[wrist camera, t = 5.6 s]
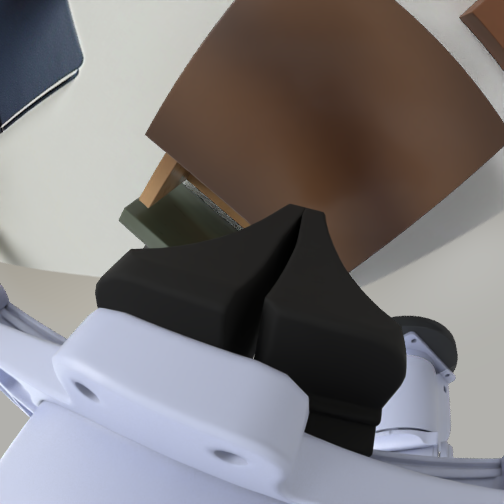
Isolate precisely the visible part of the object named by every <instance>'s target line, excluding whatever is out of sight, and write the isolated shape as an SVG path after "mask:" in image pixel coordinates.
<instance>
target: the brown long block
mask: <svg viewBox="0 0 504 504" xmlns="http://www.w3.org/2000/svg"><path fill="white" fill-rule="evenodd" d="M459 18H460V19H461V20H462V21H463V22H464V23H465V24H466V26H467V27H468V28H469V29H470V30H471V31H472V32H473V33H474V34H475V36H476V37H477V38H478V39H479V40H480V41H481V43H482V44H483V45H484V46H485V47H486V49H487V50H488V51H489V52H490V54H491V55H492V56H493V57H494V59H495V60H496V61H497V63H498V64H499V65H500V67H501V68H502V69H503V71H504V0H477V1H476V2H475V3H474V4H473V5H472V6H471V7H470V8H469V9H468V10H466V11H465V12H464V13H463V14H462V15H461V16H460V17H459Z"/></svg>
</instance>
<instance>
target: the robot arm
mask: <svg viewBox="0 0 504 504" xmlns="http://www.w3.org/2000/svg"><path fill="white" fill-rule="evenodd" d="M95 295H96V301H97V306H98V309H97V310H95V311H94V312H92V313H91V314H90V315H88V316H87V317H86V319H85V320H84V321H83V322H82V323H81V324H80V325H79V327H77V329H76V330H75V331H74V332H73V333H72V334H71V335H70V337H69V338H68V339H66V338H65V337H63V336H61V335H60V334H58V333H56V332H55V331H52V330H51V329H50V328H48V327H46V326H45V325H43V324H42V323H40V322H38V321H37V320H35V319H34V318H32V317H31V316H29V315H28V314H26V313H25V312H23V311H22V310H20V309H19V308H17V307H16V306H14V305H13V304H11V303H10V302H9V299H8V296H7V294H6V291H5V290H4V288H3V287H2V285H1V284H0V390H1V391H2V392H3V393H4V394H5V395H6V396H7V397H8V398H9V399H10V400H11V401H12V402H13V403H14V404H16V405H17V406H18V407H19V408H20V409H21V410H22V411H23V412H25V413H26V414H27V415H28V416H29V417H30V419H29V420H28V421H27V423H26V424H25V426H24V427H23V428H22V430H21V431H20V433H19V434H18V435H17V437H16V438H15V439H14V441H13V442H12V444H11V445H10V447H9V448H8V449H7V451H6V452H5V454H4V455H3V457H2V458H1V460H0V504H504V456H503V457H502V458H494V459H475V458H453V447H452V446H451V445H450V444H448V442H447V440H448V438H449V435H450V431H451V418H450V399H449V386H448V384H449V383H451V382H453V381H454V380H455V378H456V377H455V375H454V373H453V372H452V371H451V370H450V369H449V368H448V367H447V366H446V365H445V364H444V363H443V361H442V360H441V359H440V358H439V357H438V356H437V355H436V354H435V353H434V352H433V351H432V350H431V349H430V347H429V346H428V345H427V344H426V343H425V342H424V341H423V340H422V339H421V338H420V337H419V336H418V335H417V334H416V333H415V332H408V333H406V334H405V335H403V332H402V327H401V325H399V324H398V323H397V322H396V321H395V320H393V319H392V318H391V317H390V316H388V315H387V314H386V313H385V312H384V311H382V310H381V309H380V308H379V307H378V306H377V305H376V304H375V303H374V302H373V301H371V299H370V298H369V297H368V296H367V295H366V294H365V293H364V292H363V291H362V290H361V288H360V287H359V286H358V285H357V283H356V282H355V281H354V280H353V279H352V277H351V276H350V274H349V273H348V272H347V270H346V268H345V267H344V265H343V263H342V262H341V260H340V258H339V256H338V253H337V251H336V249H335V247H334V245H333V242H332V239H331V236H330V234H329V231H328V227H327V223H326V215H325V214H324V212H321V211H318V210H314V209H310V208H306V207H302V206H298V205H294V204H288V205H286V206H284V207H283V208H281V209H279V210H278V211H276V212H274V213H273V214H271V215H269V216H268V217H266V218H264V219H262V220H260V221H258V222H256V223H254V224H252V225H250V226H248V227H246V228H244V229H241V230H239V231H236V232H234V233H231V234H228V235H225V236H222V237H218V238H214V239H210V240H206V241H202V242H198V243H193V244H187V245H181V246H173V247H164V248H147V249H131V250H129V251H128V252H127V253H126V254H125V255H124V256H123V257H122V258H121V259H120V260H119V261H118V262H117V263H115V264H114V265H113V266H112V267H111V268H110V269H109V270H108V271H107V272H106V273H105V274H104V275H103V276H102V277H101V278H100V280H99V281H98V283H97V284H96V291H95ZM413 339H415V340H413ZM254 354H255V355H254ZM253 357H254V359H253ZM439 452H440V454H439V457H438V453H439Z"/></svg>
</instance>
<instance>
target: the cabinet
mask: <svg viewBox="0 0 504 504" xmlns="http://www.w3.org/2000/svg"><path fill="white" fill-rule="evenodd" d="M145 135H146V136H147V137H148V138H149V139H151V140H152V141H153V142H154V143H155V144H157V145H158V146H159V147H160V148H161V149H163V150H164V151H165V152H166V153H167V154H169V155H170V156H171V157H172V158H173V159H174V160H176V161H177V162H178V163H179V164H180V165H182V166H183V167H184V168H185V169H186V170H187V171H189V172H190V173H191V174H192V175H193V176H195V177H196V178H197V179H198V180H199V181H200V182H202V183H203V184H204V185H205V186H206V187H207V188H209V189H210V190H211V191H212V192H213V193H214V194H216V195H217V196H218V197H219V198H220V199H221V200H223V201H224V202H225V203H226V204H227V205H228V206H230V207H231V208H232V209H233V210H234V211H235V212H237V213H238V214H239V215H240V216H241V217H242V218H244V219H245V220H246V221H247V222H248V223H249V224H250V225H252V224H254V223H256V222H258V221H260V220H262V219H264V218H266V217H268V216H269V215H271V214H273V213H274V212H276V211H278V210H279V209H281V208H283V207H284V206H286V205H288V204H294V205H298V206H302V207H306V208H310V209H314V210H318V211H321V212H324V214H325V215H326V223H327V227H328V231H329V234H330V236H331V239H332V242H333V245H334V247H335V249H336V251H337V253H338V256H339V258H340V260H341V262H342V263H343V265H344V267H345V268H346V270H347V272H348V273H349V272H350V271H352V270H353V269H354V268H356V267H357V266H358V265H360V264H361V263H362V262H364V261H365V260H367V259H368V258H369V257H371V256H372V255H373V254H375V253H376V252H377V251H379V250H380V249H381V248H383V247H384V246H385V245H386V244H388V243H389V242H390V241H392V240H393V239H394V238H396V237H397V236H398V235H399V234H401V233H402V232H403V231H405V230H406V229H407V228H408V227H410V226H411V225H412V224H413V223H415V222H416V221H417V220H418V219H420V218H421V217H422V216H423V215H425V214H426V213H427V212H428V211H430V210H431V209H432V208H433V207H435V206H436V205H437V204H438V203H439V202H441V201H442V200H443V199H444V198H445V197H447V196H448V195H449V194H450V193H451V192H453V191H454V190H455V189H456V188H457V187H458V186H460V185H461V184H462V183H463V182H464V181H465V180H467V179H468V178H469V177H470V176H471V175H472V174H473V173H475V172H476V171H477V170H478V169H479V168H480V167H481V166H483V165H484V164H485V163H486V162H487V161H488V160H489V159H490V158H491V157H493V156H494V155H495V154H496V153H497V152H498V151H499V150H500V149H501V148H502V147H503V146H504V122H503V121H502V119H501V118H500V116H499V115H498V113H497V112H496V111H495V109H494V108H493V106H492V105H491V104H490V102H489V101H488V99H487V98H486V97H485V95H484V94H483V93H482V91H481V90H480V89H479V87H478V86H477V85H476V84H475V82H474V81H473V80H472V79H471V77H470V76H469V75H468V74H467V72H466V71H465V70H464V69H463V68H462V67H461V65H460V64H459V63H458V62H457V61H456V60H455V59H454V57H453V56H452V55H451V54H450V53H449V52H448V51H447V50H446V49H445V47H444V46H443V45H442V44H441V43H440V42H439V41H438V40H437V39H436V38H435V37H434V36H433V35H432V34H431V33H430V32H429V31H428V30H427V29H426V28H425V27H424V26H423V25H422V24H421V23H420V22H419V21H418V20H417V19H415V18H414V17H413V16H412V15H411V14H410V13H409V12H408V11H407V10H406V9H404V8H403V7H402V6H401V5H400V4H399V3H397V2H396V1H395V0H235V1H234V2H233V3H232V4H231V5H230V7H229V8H228V9H227V11H226V12H225V13H224V14H223V16H222V17H221V18H220V20H219V21H218V22H217V24H216V25H215V26H214V28H213V29H212V30H211V32H210V33H209V34H208V36H207V37H206V38H205V40H204V41H203V43H202V44H201V45H200V47H199V48H198V50H197V51H196V53H195V54H194V56H193V57H192V58H191V60H190V61H189V63H188V64H187V66H186V67H185V69H184V70H183V72H182V74H181V75H180V77H179V78H178V80H177V81H176V83H175V84H174V86H173V88H172V89H171V91H170V92H169V94H168V96H167V97H166V99H165V101H164V102H163V104H162V106H161V107H160V109H159V111H158V113H157V114H156V116H155V118H154V119H153V121H152V123H151V125H150V127H149V128H148V130H147V132H146V134H145Z"/></svg>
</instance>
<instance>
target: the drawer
mask: <svg viewBox="0 0 504 504" xmlns="http://www.w3.org/2000/svg"><path fill="white" fill-rule="evenodd" d="M186 179H187V180H188V181H189V182H190V183H191V184H193V185H194V186H195V187H196V188H197V189H199V190H200V191H201V192H202V193H203V194H204V195H206V196H207V197H208V198H209V199H210V200H211V201H213V202H214V203H215V204H216V205H217V206H218V207H220V208H221V209H222V210H223V211H224V212H225V213H226V214H228V215H229V216H230V217H231V218H232V219H233V220H235V221H236V222H237V223H238V224H239V225H240V226H242V227H243V228H246V227H248V226H250V224H249V223H248V222H247V221H246V220H245V219H244V218H242V217H241V216H240V215H239V214H238V213H237V212H235V211H234V210H233V209H232V208H231V207H230V206H228V205H227V204H226V203H225V202H224V201H223V200H221V199H220V198H219V197H218V196H217V195H216V194H214V193H213V192H212V191H211V190H210V189H209V188H207V187H206V186H205V185H204V184H203V183H202V182H200V181H199V180H198V179H197V178H196V177H195V176H193V175H192V174H191V173H190V172H189V171H187V170H186V169H185V168H184V167H183V166H182V165H180V164H179V163H178V162H177V161H176V160H174V159H173V158H172V157H171V156H170V155H169V154H167V153H165V155H164V156H163V158H162V160H161V161H160V163H159V165H158V167H157V168H156V170H155V172H154V173H153V175H152V177H151V179H150V180H149V182H148V184H147V186H146V187H145V189H144V191H143V193H142V194H141V196H140V197H139V198H138V199H136V200H135V201H134V202H132V203H131V204H129V205H128V206H127V207H125V208H124V210H123V212H122V214H121V216H120V218H119V221H120V222H121V223H122V224H123V225H124V226H125V227H126V228H127V229H128V230H130V231H131V232H132V233H133V234H134V235H135V236H136V237H137V238H138V239H140V240H141V241H142V242H143V243H144V244H145V246H144V248H143V249H147V248H164V247H173V246H181V245H187V244H193V243H198V242H202V241H206V240H210V239H214V238H218V237H222V236H225V235H228V234H231V233H234V232H236V231H238V230H236V229H235V228H234V227H233V226H232V225H231V224H229V223H228V222H227V221H226V220H225V219H224V218H222V217H221V216H220V215H219V214H218V213H217V212H215V211H214V210H213V209H212V208H211V207H210V206H208V205H207V204H206V203H205V202H204V201H203V200H201V199H200V198H199V197H198V196H197V195H196V194H194V193H193V192H192V191H191V190H190V189H189V188H187V187H186V186H185V185H184V184H183V183H182V182H184V181H185V180H186Z"/></svg>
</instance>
